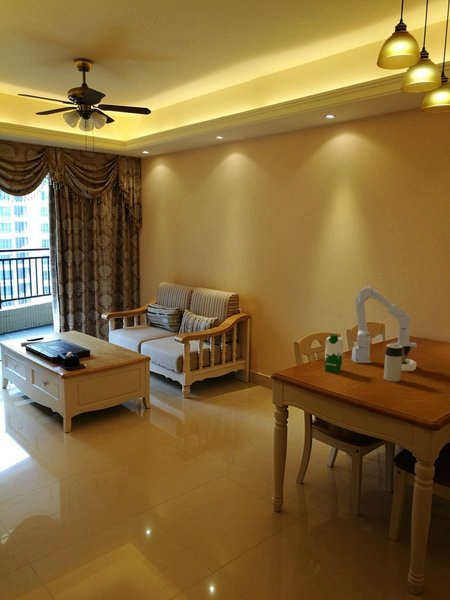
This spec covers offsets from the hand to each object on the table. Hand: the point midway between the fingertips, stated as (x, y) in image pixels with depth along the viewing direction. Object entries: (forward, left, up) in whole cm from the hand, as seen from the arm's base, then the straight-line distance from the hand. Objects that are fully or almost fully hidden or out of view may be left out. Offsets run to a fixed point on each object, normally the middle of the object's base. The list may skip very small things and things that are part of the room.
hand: (402, 359), depth 261 cm
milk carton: (-41, -6, -5) cm, 42 cm away
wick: (0, 0, -4) cm, 4 cm away
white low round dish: (0, 0, -5) cm, 5 cm away
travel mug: (-15, -22, -5) cm, 27 cm away
